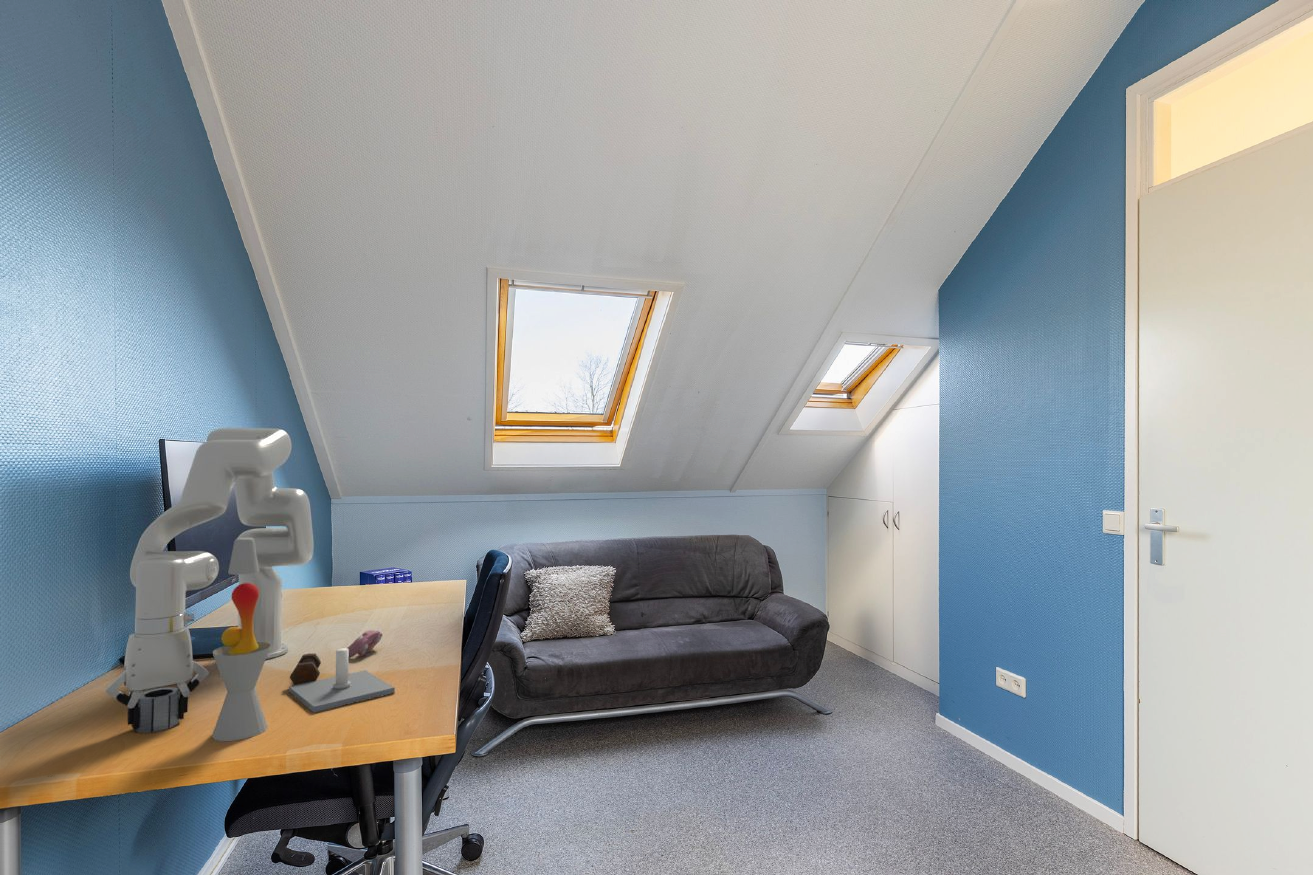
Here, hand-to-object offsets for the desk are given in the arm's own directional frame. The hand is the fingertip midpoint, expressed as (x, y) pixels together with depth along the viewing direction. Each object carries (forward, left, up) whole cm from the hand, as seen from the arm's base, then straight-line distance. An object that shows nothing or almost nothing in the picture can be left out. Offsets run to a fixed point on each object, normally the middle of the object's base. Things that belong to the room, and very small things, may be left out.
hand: (157, 721), depth 125 cm
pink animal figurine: (-21, +45, -1) cm, 50 cm away
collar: (0, 0, -1) cm, 1 cm away
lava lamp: (+13, +10, -1) cm, 17 cm away
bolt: (-11, +29, -1) cm, 31 cm away
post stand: (+5, +31, -1) cm, 31 cm away
